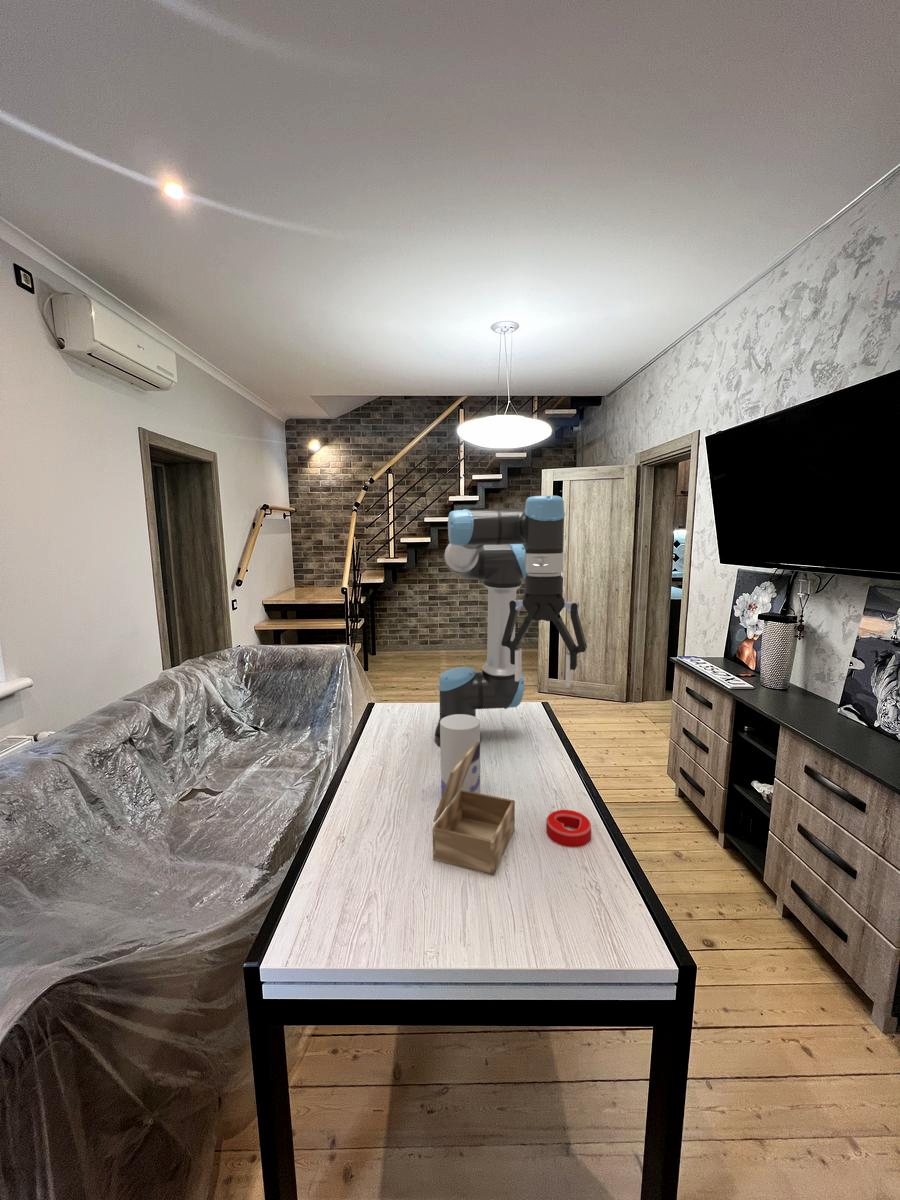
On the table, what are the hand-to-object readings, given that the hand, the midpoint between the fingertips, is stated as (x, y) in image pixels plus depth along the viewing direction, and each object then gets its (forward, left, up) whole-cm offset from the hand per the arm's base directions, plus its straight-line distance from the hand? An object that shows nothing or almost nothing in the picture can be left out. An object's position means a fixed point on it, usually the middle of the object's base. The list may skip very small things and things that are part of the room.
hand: (542, 682), depth 100 cm
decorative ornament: (-5, +5, -36) cm, 37 cm away
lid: (+6, -17, -22) cm, 28 cm away
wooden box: (+6, -13, -36) cm, 38 cm away
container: (-11, -23, -36) cm, 44 cm away
